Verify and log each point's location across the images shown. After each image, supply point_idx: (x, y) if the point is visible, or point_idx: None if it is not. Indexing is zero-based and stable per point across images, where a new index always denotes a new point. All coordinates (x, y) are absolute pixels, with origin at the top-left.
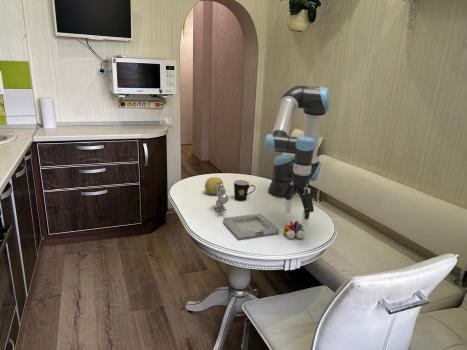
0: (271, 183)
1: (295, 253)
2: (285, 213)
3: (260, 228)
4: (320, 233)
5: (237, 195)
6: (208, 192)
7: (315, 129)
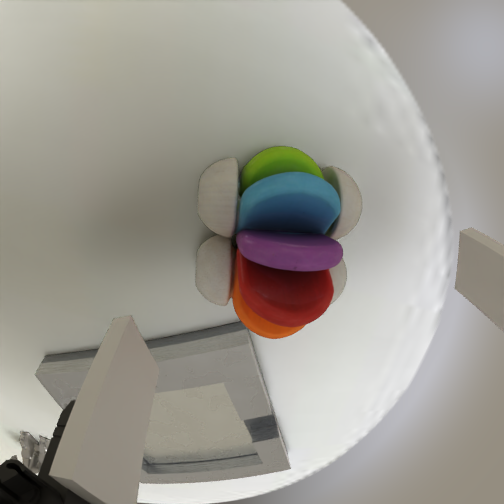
0: None
1: (448, 279)
2: (158, 369)
3: (198, 403)
4: (249, 4)
5: None
6: None
7: None
